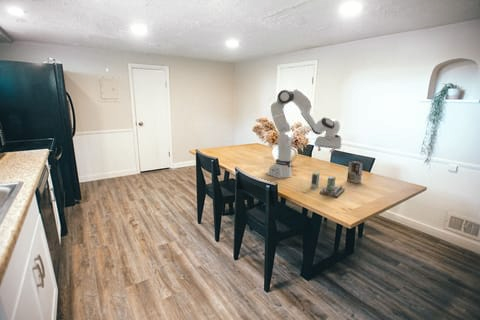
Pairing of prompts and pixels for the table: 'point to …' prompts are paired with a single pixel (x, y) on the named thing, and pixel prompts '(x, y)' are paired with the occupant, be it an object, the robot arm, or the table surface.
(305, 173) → the table surface
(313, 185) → the block
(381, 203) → the table surface
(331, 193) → the rail base
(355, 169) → the coffee box
